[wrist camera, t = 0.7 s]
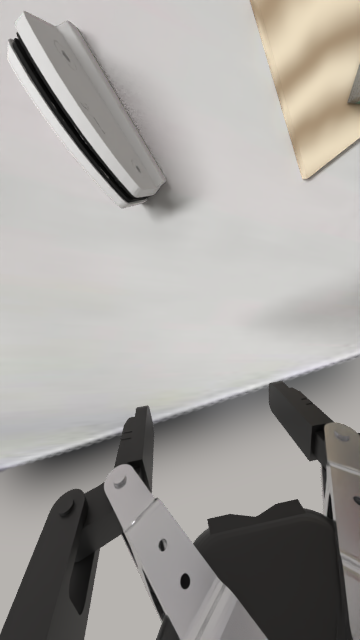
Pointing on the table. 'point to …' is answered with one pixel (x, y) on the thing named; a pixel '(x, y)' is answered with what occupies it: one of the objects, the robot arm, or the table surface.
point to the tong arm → (355, 89)
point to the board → (313, 73)
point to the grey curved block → (83, 109)
